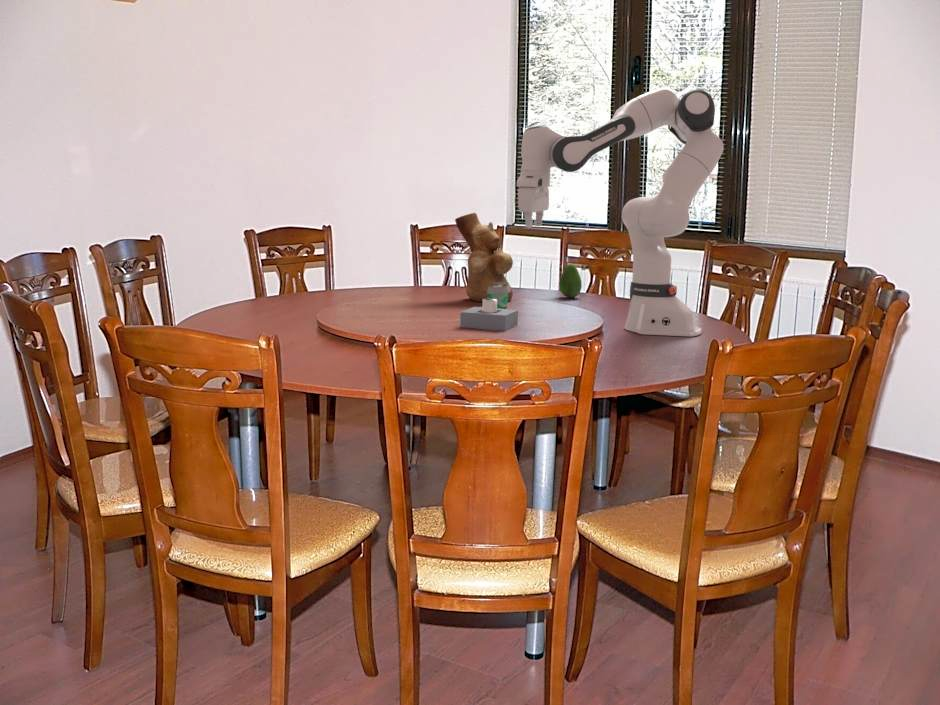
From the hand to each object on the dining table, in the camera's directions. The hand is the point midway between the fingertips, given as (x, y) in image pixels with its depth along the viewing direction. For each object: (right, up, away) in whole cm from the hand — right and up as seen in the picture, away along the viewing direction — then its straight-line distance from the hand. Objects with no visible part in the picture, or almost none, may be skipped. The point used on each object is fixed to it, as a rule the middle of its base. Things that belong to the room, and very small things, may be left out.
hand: (533, 226), depth 324 cm
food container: (-10, -27, +15) cm, 32 cm away
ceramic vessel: (-15, -20, +50) cm, 56 cm away
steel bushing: (-13, -30, -3) cm, 33 cm away
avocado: (+16, -19, +60) cm, 65 cm away
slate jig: (-13, -30, -3) cm, 33 cm away
